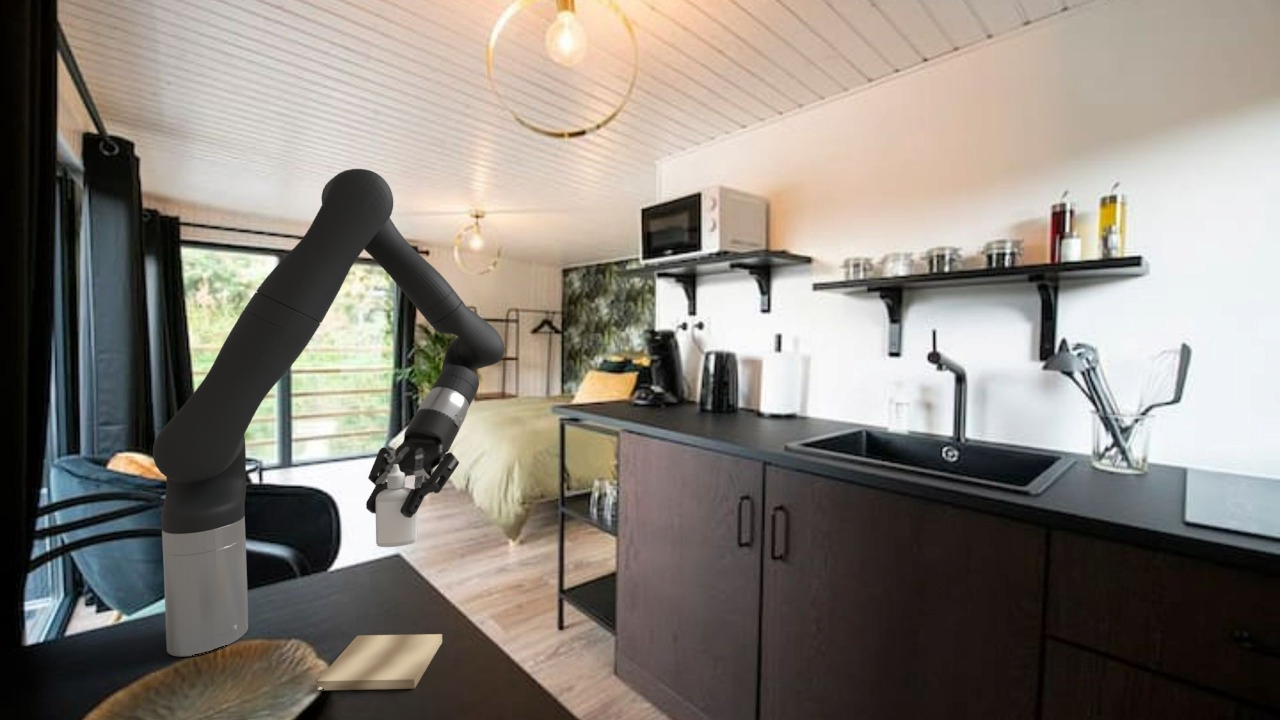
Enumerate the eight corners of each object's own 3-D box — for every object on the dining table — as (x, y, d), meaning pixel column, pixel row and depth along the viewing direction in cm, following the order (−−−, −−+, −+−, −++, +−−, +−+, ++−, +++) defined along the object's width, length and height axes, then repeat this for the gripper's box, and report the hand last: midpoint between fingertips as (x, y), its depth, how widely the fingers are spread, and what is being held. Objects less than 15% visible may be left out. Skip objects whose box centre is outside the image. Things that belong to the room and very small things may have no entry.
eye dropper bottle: (404, 550, 77) (402, 469, 77) (371, 546, 79) (369, 467, 78) (422, 539, 82) (421, 462, 81) (390, 535, 83) (389, 460, 82)
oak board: (317, 690, 66) (316, 681, 66) (357, 643, 76) (357, 635, 76) (414, 688, 66) (414, 679, 66) (442, 642, 76) (442, 634, 76)
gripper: (391, 405, 88) (333, 496, 77) (466, 408, 84) (416, 505, 73) (413, 431, 94) (362, 520, 83) (484, 435, 90) (441, 529, 79)
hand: (388, 512), depth 78 cm, fingers closed on eye dropper bottle, 5 cm apart
